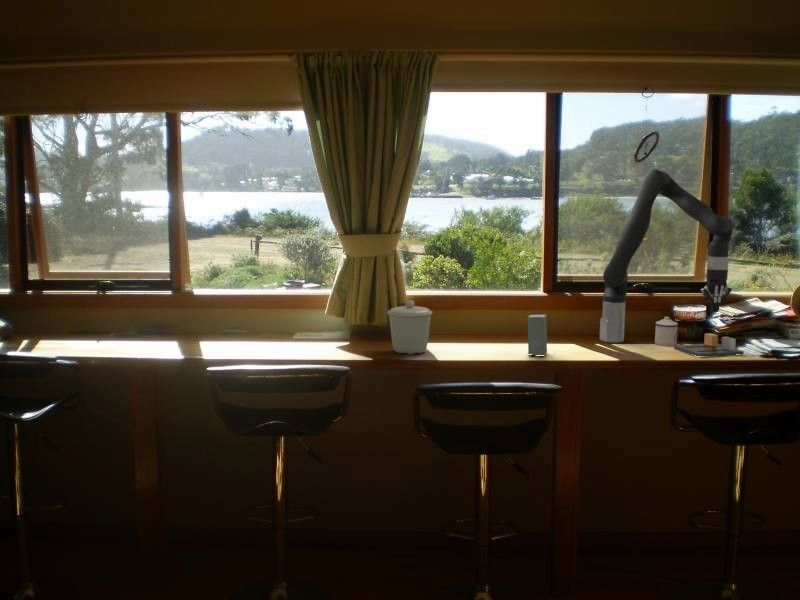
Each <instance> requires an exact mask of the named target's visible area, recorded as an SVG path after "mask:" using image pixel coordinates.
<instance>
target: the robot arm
mask: <svg viewBox="0 0 800 600" xmlns="http://www.w3.org/2000/svg"><path fill="white" fill-rule="evenodd" d="M658 195H660V196H663V197H664V198H667V199H669V200H671V201H672V202H673V203H674V204H676V205H677V206H678V207H679V208H680V209H681V210H682V211H683V212H684V213H685V214H687V215H688V216H689V217H690V218H692V219H694V220H695V221H697V222H698V223H699V224H700V225H701V226H702V227H703V228H704V229H705V230H706V231H707V232H708V233H710V234H712V235H713V238H712V241H711V242H710V243H709V244H708V245H709V246H708V258H707V262H706V263H707V265H706V283H705V286H704V287H701V288H700V289H699V291H700V293H702V295H703V297H704V299H705V300H706V301H708V302H710V311H711V312H712V313H718V312H719V310H720V304H721V302H724V301H725V300H726V299H727V297H728V296H729V295H730V294H731V292H732V291H733V288H731V287H729V286H728V283H727V280H728V276H729V275H728V274H729V250H730V249H729V246H730V243H731V239H732V235H733V230H734V224H733V221H732V219H730V218H729V217H728V216H720V215H717V214H716V213H715V212H714V211H713V208H711V207H710V206H709V205H708V204H706V202H703V201H702V200H700V199H699V198H698V197H696V196H694V195H692V194H691V193H689V192H688V191H687V190H685V189H684V188H683V187H681V186H680V185H679V183H677V182H676V181H675V180H674V179H673V178H672V177H671V176H670V175H669V174H668V173H667V172H666V171H662V170H659V169H651V170H649V171H648V172H647V173H646V174H645V175H644V177H643V180H642V182H641V185H640V188H639V191H638V194H637V197H636V200H635V202H634V205H633V207H632V209H631V211H630V214H629V216H628V217H627V220H626V222H625V223H624V224H625V225H624V227H623V229H622V231H621V234H620V236H619V240H618V243H617V245H616V248H615V250H614V252H613V254H612V257H611V259H610V261H609V262H608V264H607V266H606V267H605V269H604V271H603V273H602V278H603V279H602V280H603V281H604V292H603V297H602V317H600V319H599V320H600V322H599V325H600V326H599V340H600V341H602V342H605V343H623V342H624V341H625V339H624V338H625V319H626V317H625V316H626V315H625V314H626V298H627V293H628V280H629V279H628V277H629V274H628V269H629V265H630V263H631V260H632V258H633V257H634V256H635V253H636V252H637V250H638V249H639V248H640V246H641V244H642V243H643V242H644V240H645V237H646V235H647V232H648V230H649V228H650V225H651V217H652V210H653V205H654V203H655V201H656V199H657V196H658Z"/></svg>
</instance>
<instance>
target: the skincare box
mask: <svg viewBox="0 0 800 600" xmlns="http://www.w3.org/2000/svg"><path fill="white" fill-rule="evenodd" d="M547 324H548V323H547V314H530V315H528V317H527V344H528V345H527V350H528V354H532V355H545V354H546V353H548V338H547V337H548V333H547V326H548V325H547ZM546 355H547V354H546ZM546 355H545V356H546Z"/></svg>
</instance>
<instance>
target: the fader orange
mask: <svg viewBox="0 0 800 600" xmlns="http://www.w3.org/2000/svg"><path fill="white" fill-rule="evenodd" d="M718 340H719V335H717V334H715V333H711V332H708V333H704V340H703V344H705V345H709V346H717V344H719V341H718Z"/></svg>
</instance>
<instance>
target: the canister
mask: <svg viewBox="0 0 800 600" xmlns="http://www.w3.org/2000/svg"><path fill="white" fill-rule="evenodd" d="M386 313H387V315H388V316H389V318H388V319H389V325H390V334H391V335H390V336H391V344H392V348H393V350H394V352H396V353H397V354H401V353H408V354H407V355H415V354H414V353H419V354H422V353H424V352H426V350H427V348H428V347H427V346H428V342H429V335H430V326H431V317H432V314H433V310H431V309H429V308H428V307H424V306H419V305H418V306H417V305H415V302H414V300H407V301H405V305H403V306H395V307H392V308H390V309H389V310H387V311H386Z"/></svg>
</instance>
